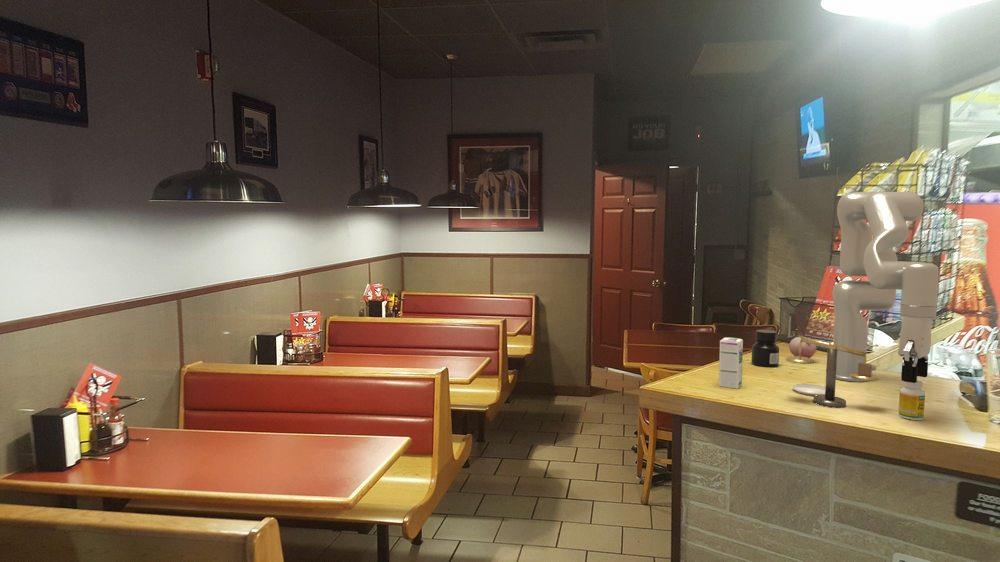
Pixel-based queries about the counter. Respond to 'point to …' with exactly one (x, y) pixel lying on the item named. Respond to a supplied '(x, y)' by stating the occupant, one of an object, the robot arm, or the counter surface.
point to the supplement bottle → (912, 401)
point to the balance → (834, 370)
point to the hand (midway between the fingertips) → (914, 379)
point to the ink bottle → (765, 349)
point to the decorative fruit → (802, 348)
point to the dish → (809, 389)
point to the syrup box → (730, 362)
